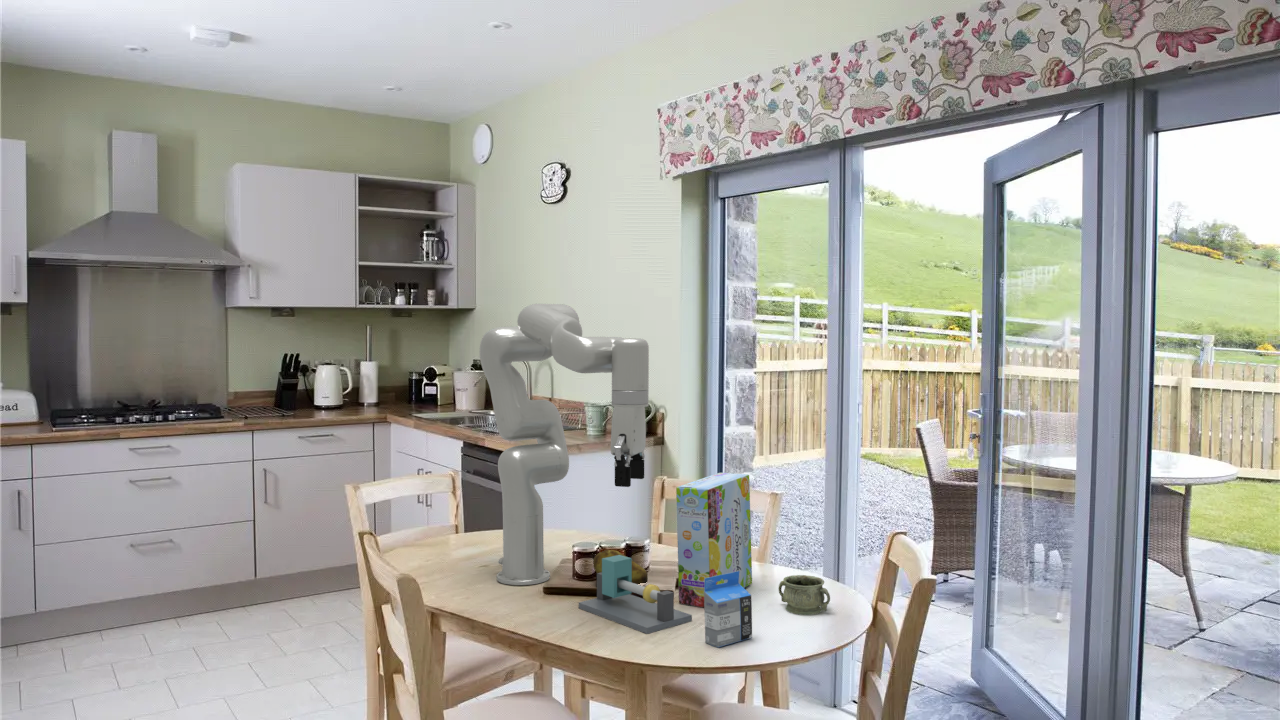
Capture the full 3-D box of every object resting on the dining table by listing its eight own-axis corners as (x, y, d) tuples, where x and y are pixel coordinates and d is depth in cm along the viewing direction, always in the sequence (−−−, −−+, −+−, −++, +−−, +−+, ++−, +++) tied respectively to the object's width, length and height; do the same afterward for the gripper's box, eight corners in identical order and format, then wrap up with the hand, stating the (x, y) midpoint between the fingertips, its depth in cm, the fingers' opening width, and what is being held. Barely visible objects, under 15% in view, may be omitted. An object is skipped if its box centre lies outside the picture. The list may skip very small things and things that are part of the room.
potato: (625, 595, 200) (625, 559, 200) (587, 584, 209) (587, 550, 209) (652, 588, 206) (652, 553, 206) (613, 577, 215) (613, 544, 215)
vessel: (768, 609, 190) (768, 580, 190) (788, 599, 197) (788, 571, 197) (820, 620, 183) (820, 589, 182) (839, 609, 190) (839, 580, 189)
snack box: (719, 580, 213) (719, 471, 212) (753, 585, 208) (753, 474, 207) (674, 604, 194) (674, 484, 193) (711, 610, 190) (711, 488, 189)
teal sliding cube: (602, 593, 191) (601, 558, 191) (619, 589, 194) (619, 554, 194) (614, 597, 188) (613, 562, 188) (631, 593, 191) (631, 558, 191)
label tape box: (717, 648, 166) (717, 582, 166) (703, 642, 170) (703, 577, 169) (752, 639, 172) (752, 574, 171) (738, 633, 175) (738, 570, 174)
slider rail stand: (578, 608, 191) (578, 573, 191) (622, 597, 199) (622, 564, 199) (647, 633, 175) (646, 596, 174) (691, 620, 182) (691, 584, 182)
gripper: (625, 395, 194) (624, 474, 194) (598, 401, 177) (598, 488, 178) (658, 396, 191) (658, 476, 192) (635, 402, 175) (635, 490, 175)
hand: (629, 482), depth 185 cm, fingers open, 9 cm apart
